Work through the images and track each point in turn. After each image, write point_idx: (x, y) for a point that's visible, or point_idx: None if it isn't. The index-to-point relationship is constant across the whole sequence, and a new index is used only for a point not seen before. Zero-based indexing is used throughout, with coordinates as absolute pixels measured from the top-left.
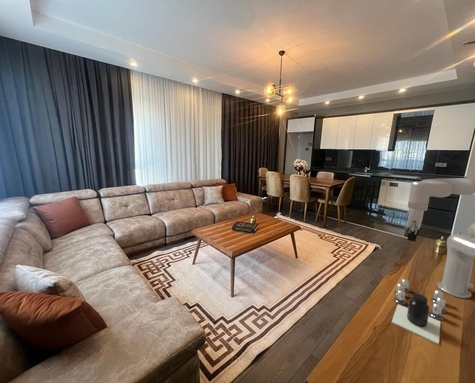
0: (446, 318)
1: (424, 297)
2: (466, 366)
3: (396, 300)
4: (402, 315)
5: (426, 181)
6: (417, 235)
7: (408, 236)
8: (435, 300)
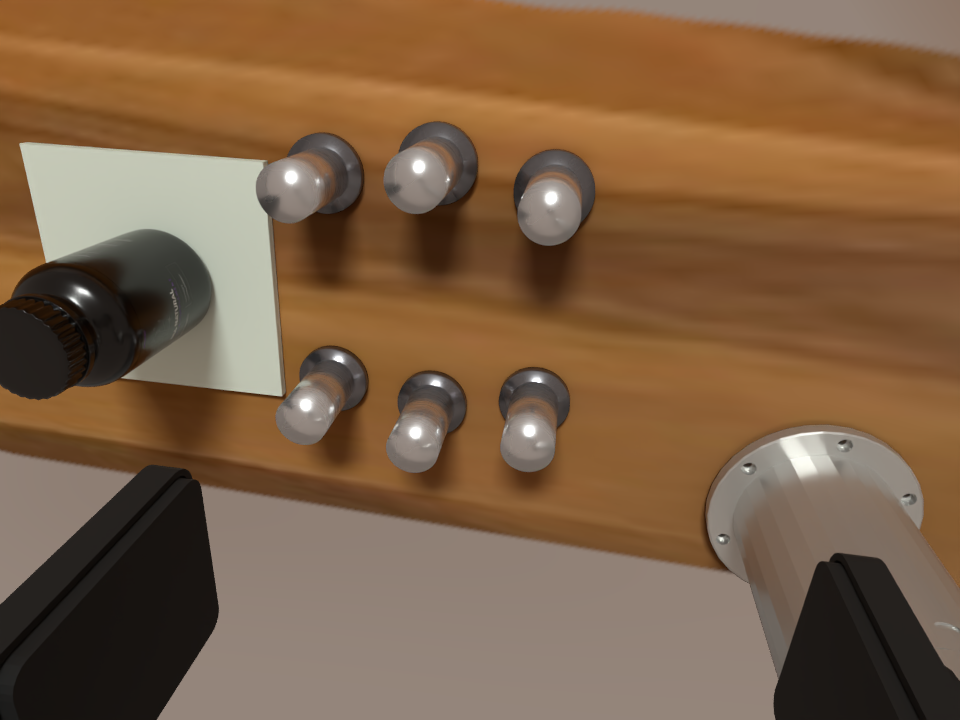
0: (364, 425)
1: (46, 383)
2: (42, 448)
3: (305, 149)
4: (147, 201)
5: None
6: (780, 715)
7: (72, 553)
8: (512, 395)
